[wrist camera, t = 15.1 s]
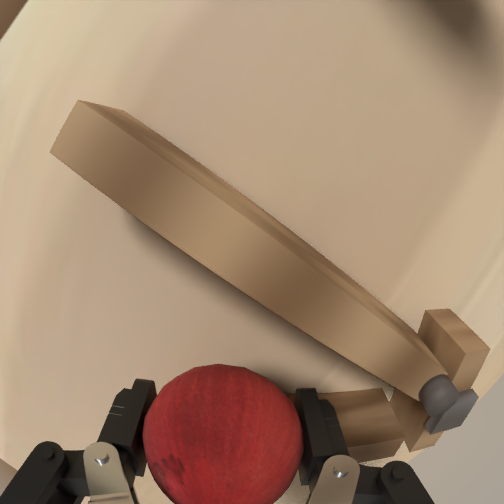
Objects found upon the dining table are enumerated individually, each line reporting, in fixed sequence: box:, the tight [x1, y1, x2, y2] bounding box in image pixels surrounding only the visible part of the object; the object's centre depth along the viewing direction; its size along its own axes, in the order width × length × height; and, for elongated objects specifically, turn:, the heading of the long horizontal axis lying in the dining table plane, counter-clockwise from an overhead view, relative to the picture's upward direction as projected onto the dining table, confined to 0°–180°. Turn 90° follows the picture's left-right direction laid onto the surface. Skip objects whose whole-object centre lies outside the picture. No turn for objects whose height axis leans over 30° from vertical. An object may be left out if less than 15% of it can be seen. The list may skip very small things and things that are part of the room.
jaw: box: [50, 100, 459, 417], centre depth 12 cm, size 20×2×5 cm, turn 53°
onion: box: [142, 364, 304, 504], centre depth 9 cm, size 6×6×8 cm
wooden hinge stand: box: [286, 309, 490, 463], centre depth 14 cm, size 8×15×5 cm, turn 87°
